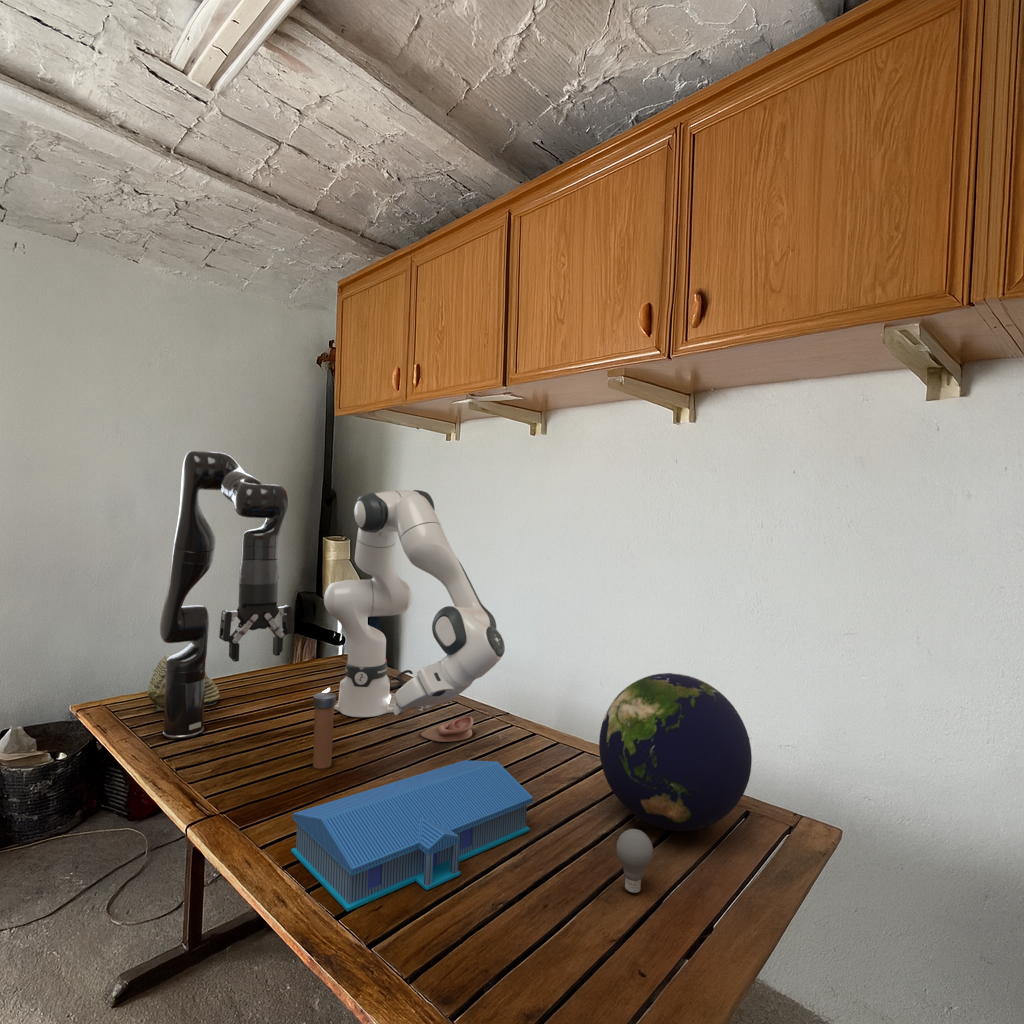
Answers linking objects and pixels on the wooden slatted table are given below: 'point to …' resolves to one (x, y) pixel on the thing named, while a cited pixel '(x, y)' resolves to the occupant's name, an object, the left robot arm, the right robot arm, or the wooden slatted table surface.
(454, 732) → the anatomical model
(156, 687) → the fossil
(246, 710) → the wooden slatted table surface
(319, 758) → the brown cylinder
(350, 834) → the model building
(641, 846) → the light bulb
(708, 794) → the globe
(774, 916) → the wooden slatted table surface
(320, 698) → the lid
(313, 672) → the wooden slatted table surface
